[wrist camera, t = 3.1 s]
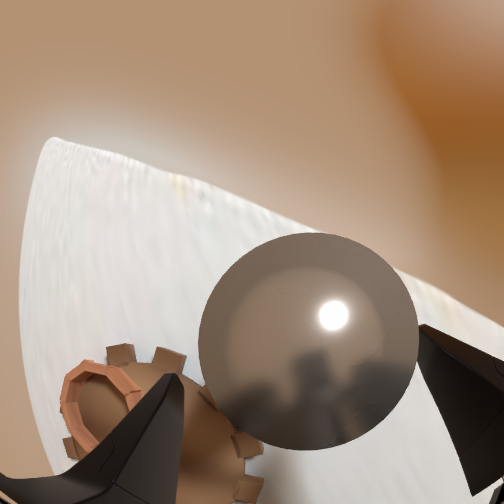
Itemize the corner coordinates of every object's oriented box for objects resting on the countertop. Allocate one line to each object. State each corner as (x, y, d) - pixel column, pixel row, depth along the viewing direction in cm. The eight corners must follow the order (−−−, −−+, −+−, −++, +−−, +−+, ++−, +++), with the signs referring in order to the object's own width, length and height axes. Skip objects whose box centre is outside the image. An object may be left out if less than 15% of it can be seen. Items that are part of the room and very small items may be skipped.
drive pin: (324, 383, 16) (419, 430, 4) (256, 386, 16) (199, 448, 4) (322, 319, 17) (401, 229, 5) (256, 321, 18) (203, 237, 6)
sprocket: (263, 541, 11) (260, 560, 8) (81, 496, 12) (64, 504, 10) (263, 350, 17) (260, 349, 14) (69, 335, 18) (48, 330, 16)
